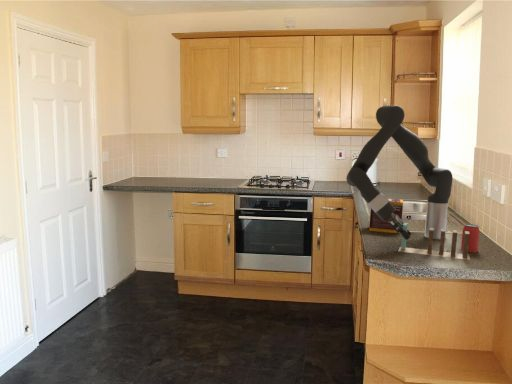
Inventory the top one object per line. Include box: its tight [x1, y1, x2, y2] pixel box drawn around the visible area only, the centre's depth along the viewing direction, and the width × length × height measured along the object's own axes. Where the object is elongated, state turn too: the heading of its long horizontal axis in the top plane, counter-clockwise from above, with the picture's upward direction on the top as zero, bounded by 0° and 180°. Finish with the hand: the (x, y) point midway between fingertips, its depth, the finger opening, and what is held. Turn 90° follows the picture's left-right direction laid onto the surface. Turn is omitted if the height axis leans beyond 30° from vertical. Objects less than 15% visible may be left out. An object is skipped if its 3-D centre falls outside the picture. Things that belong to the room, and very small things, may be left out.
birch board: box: [398, 246, 471, 261], centre depth 204 cm, size 28×8×1 cm, turn 69°
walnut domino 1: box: [427, 228, 434, 254], centre depth 204 cm, size 2×5×10 cm, turn 159°
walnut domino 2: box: [438, 229, 446, 257], centre depth 202 cm, size 2×5×10 cm, turn 159°
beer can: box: [460, 223, 480, 253], centre depth 210 cm, size 7×7×12 cm
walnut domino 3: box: [450, 229, 458, 257], centre depth 201 cm, size 2×5×10 cm, turn 159°
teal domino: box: [400, 222, 409, 249], centre depth 208 cm, size 2×5×10 cm, turn 159°
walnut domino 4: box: [462, 231, 470, 258], centre depth 199 cm, size 2×5×10 cm, turn 159°
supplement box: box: [368, 198, 404, 235], centre depth 249 cm, size 10×15×16 cm
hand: (409, 236), depth 207 cm, fingers closed on teal domino, 5 cm apart
